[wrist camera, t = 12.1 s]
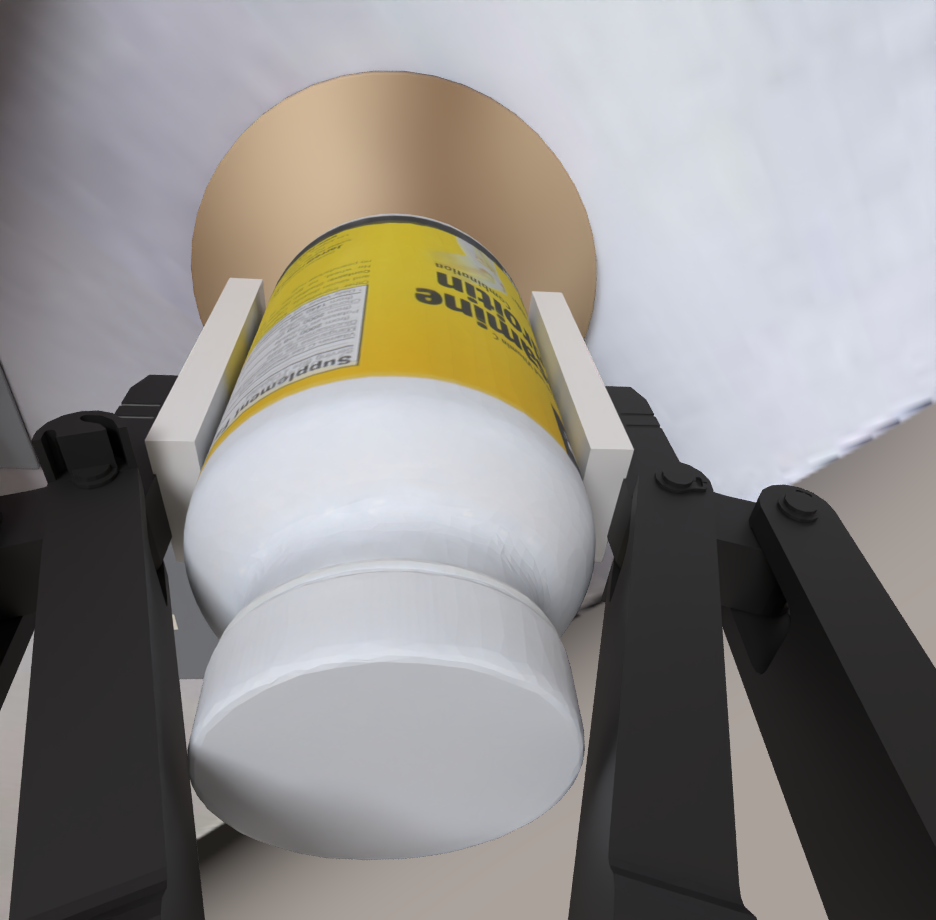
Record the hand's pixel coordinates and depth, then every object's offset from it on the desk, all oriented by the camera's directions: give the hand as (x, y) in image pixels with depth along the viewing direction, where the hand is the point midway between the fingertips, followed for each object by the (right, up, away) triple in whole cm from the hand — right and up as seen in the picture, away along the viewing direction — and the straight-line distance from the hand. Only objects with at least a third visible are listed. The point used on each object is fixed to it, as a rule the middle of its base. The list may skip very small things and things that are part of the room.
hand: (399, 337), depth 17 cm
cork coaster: (0, +2, +2) cm, 3 cm away
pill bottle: (0, 0, 0) cm, 1 cm away
